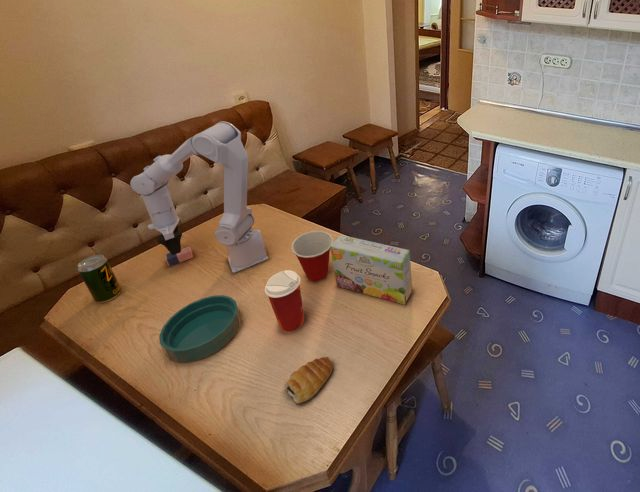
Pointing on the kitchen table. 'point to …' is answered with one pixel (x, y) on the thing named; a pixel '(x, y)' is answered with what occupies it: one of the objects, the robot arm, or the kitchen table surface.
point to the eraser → (179, 256)
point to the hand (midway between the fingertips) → (175, 246)
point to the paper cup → (286, 299)
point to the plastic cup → (313, 253)
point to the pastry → (309, 379)
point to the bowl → (200, 328)
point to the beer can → (99, 278)
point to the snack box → (372, 268)
